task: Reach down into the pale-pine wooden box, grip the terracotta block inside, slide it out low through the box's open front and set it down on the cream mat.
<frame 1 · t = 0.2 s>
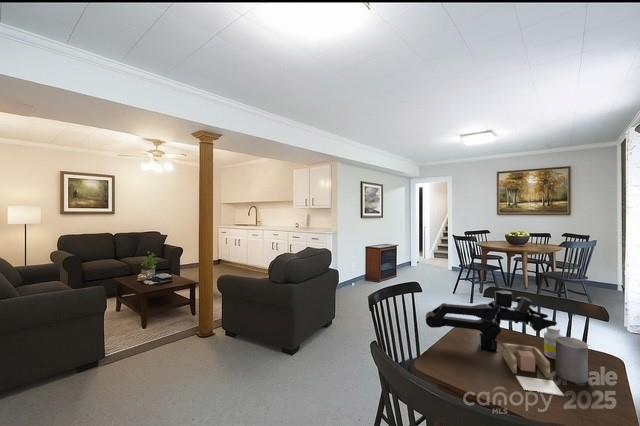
hand: (552, 319, 130), 16 cm above the table, tool horizontal, fingers open, 9 cm apart
terracotta block: (525, 360, 122), in the open front box
pillar candle: (571, 376, 115), on the table
cream mat: (538, 385, 110), on the table
open front box: (525, 367, 122), on the table
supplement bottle: (553, 356, 131), on the table
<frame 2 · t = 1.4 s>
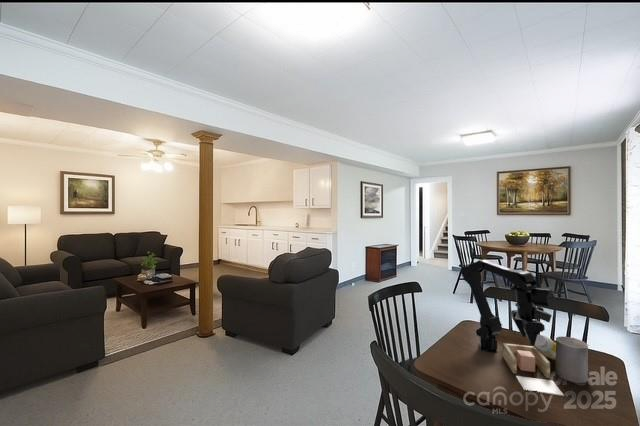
hand: (528, 340, 122), 11 cm above the table, tool pointing down, fingers open, 9 cm apart
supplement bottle: (553, 351, 130), point 3 cm above the table, touching open front box
everything else where it was.
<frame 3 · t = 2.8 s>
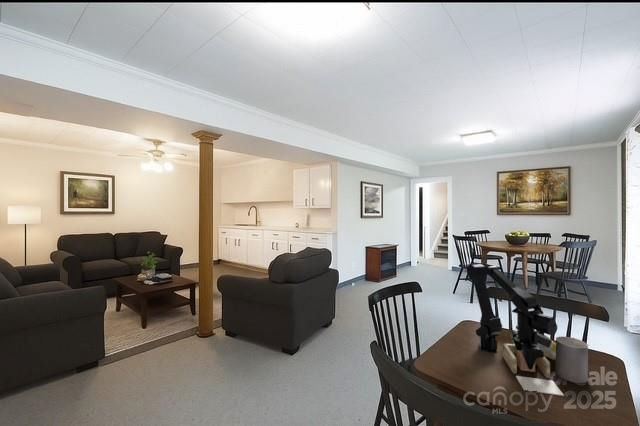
hand: (526, 363, 122), 2 cm above the table, tool pointing down, fingers open, 8 cm apart
nothing on the table moved.
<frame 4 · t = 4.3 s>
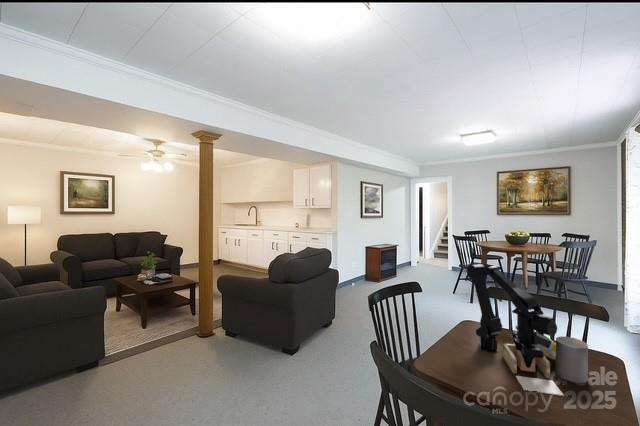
hand: (525, 364, 122), 2 cm above the table, tool pointing down, fingers closed on terracotta block, 5 cm apart
terracotta block: (525, 360, 122), in the open front box, touching gripper
everything else where it was.
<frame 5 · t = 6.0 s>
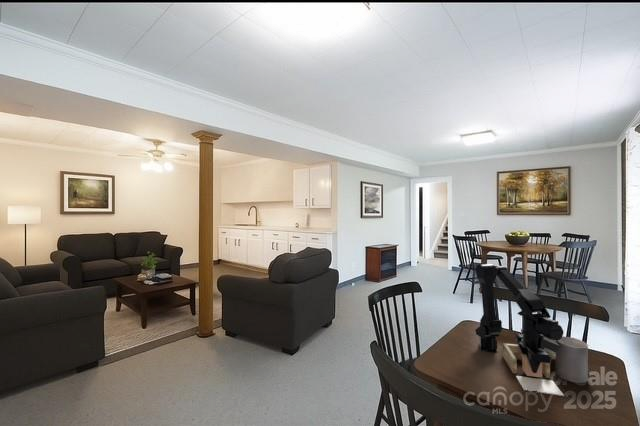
hand: (531, 369, 116), 3 cm above the table, tool pointing down, fingers closed on terracotta block, 5 cm apart
terracotta block: (531, 365, 116), point 4 cm above the table, touching gripper
everything else where it was.
when the fingers open (2 cm above the table, at t = 8.4 s): terracotta block stays where it is, resting on cream mat.
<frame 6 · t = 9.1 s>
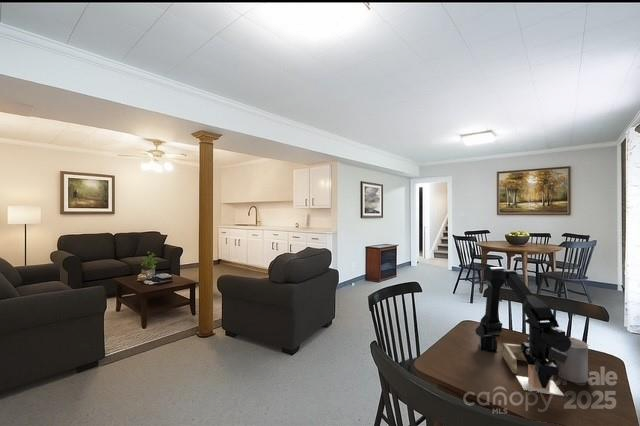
hand: (538, 380, 110), 2 cm above the table, tool pointing down, fingers open, 9 cm apart
terracotta block: (538, 376, 110), on the cream mat
everything else where it was.
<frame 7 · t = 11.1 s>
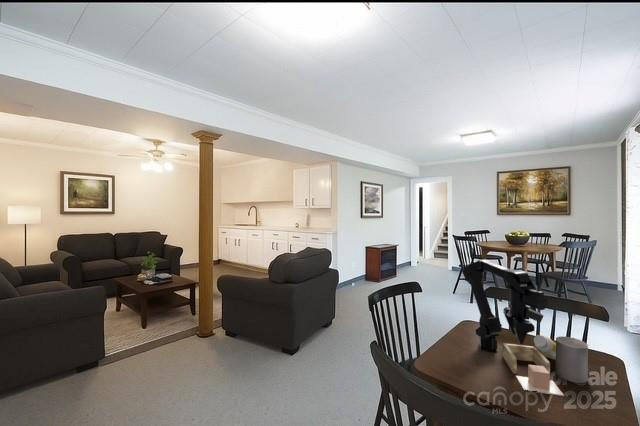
hand: (517, 338, 124), 11 cm above the table, tool pointing down, fingers open, 9 cm apart
nothing on the table moved.
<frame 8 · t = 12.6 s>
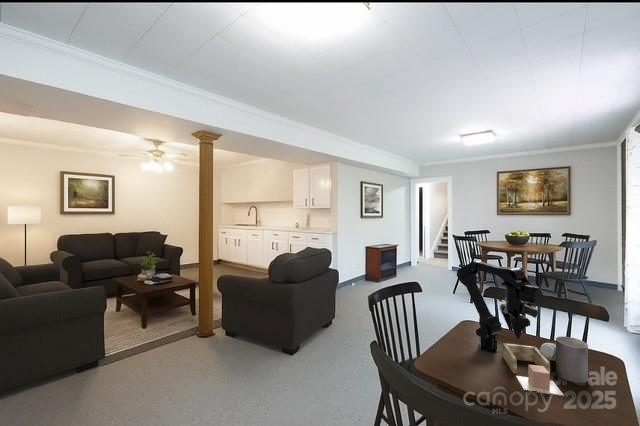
hand: (514, 334, 127), 12 cm above the table, tool pointing down, fingers open, 9 cm apart
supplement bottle: (556, 352, 128), point 3 cm above the table, touching open front box
everything else where it was.
at the end: terracotta block inside the target area on the cream mat (0.0 cm from its centre), point 3.4 cm above the cream mat's base; terracotta block tilted 0°; the gripper is holding nothing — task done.
